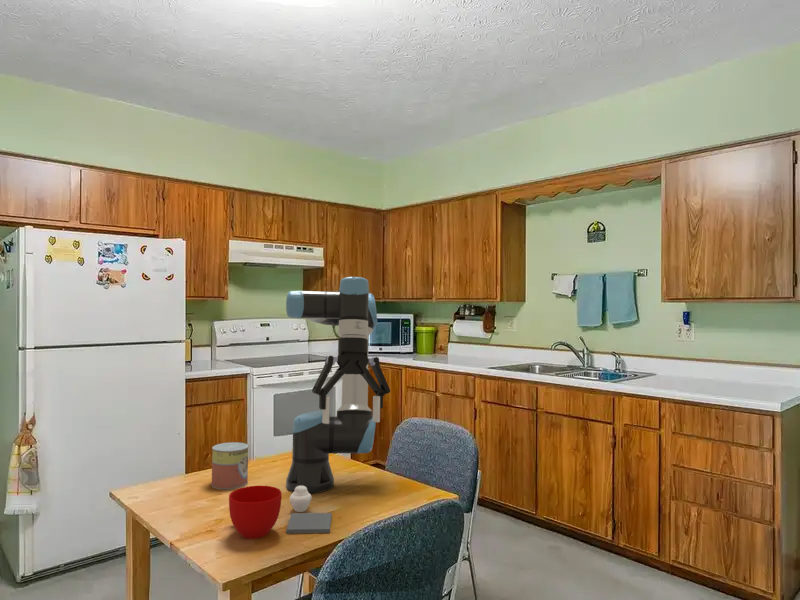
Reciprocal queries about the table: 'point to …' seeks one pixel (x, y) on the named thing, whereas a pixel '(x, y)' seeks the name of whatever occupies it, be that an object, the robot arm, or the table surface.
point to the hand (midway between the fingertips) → (351, 422)
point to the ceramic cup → (254, 510)
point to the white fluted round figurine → (300, 499)
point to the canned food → (229, 465)
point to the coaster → (309, 523)
